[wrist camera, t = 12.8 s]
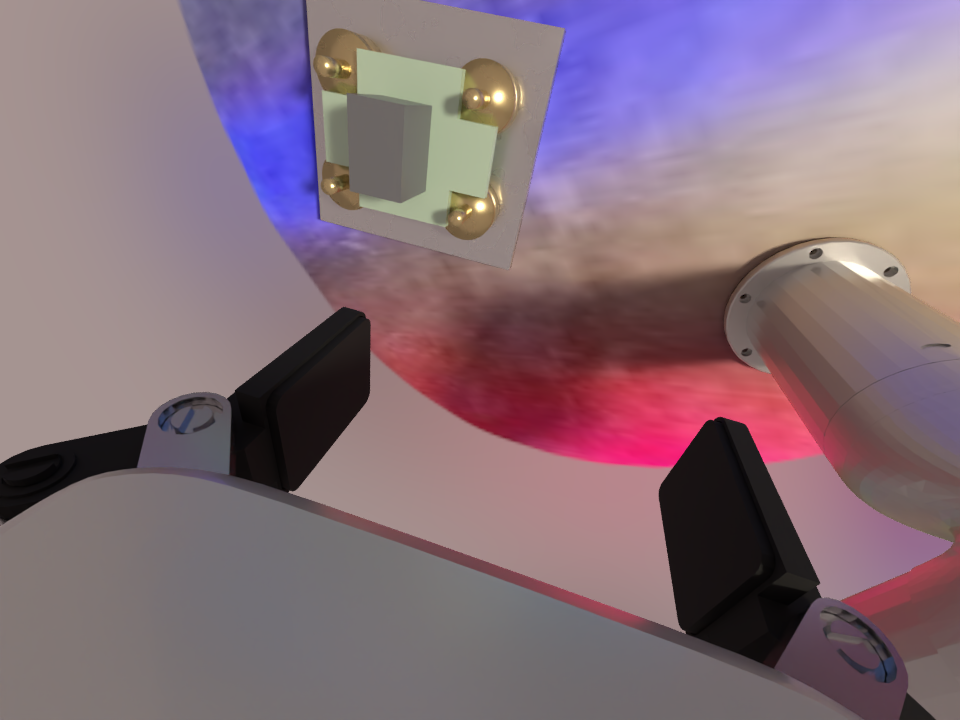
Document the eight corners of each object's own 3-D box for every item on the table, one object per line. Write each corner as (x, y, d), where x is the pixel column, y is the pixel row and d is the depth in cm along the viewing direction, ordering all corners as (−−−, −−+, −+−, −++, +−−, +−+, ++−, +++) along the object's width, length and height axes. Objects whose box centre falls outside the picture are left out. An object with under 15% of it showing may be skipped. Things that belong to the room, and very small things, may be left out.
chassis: (565, 31, 28) (558, 12, 22) (511, 266, 38) (496, 292, 33) (314, -18, 30) (251, -46, 24) (327, 217, 40) (285, 234, 35)
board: (506, 77, 27) (487, 71, 22) (480, 233, 33) (461, 253, 29) (325, 42, 29) (271, 29, 24) (333, 196, 35) (292, 210, 30)
